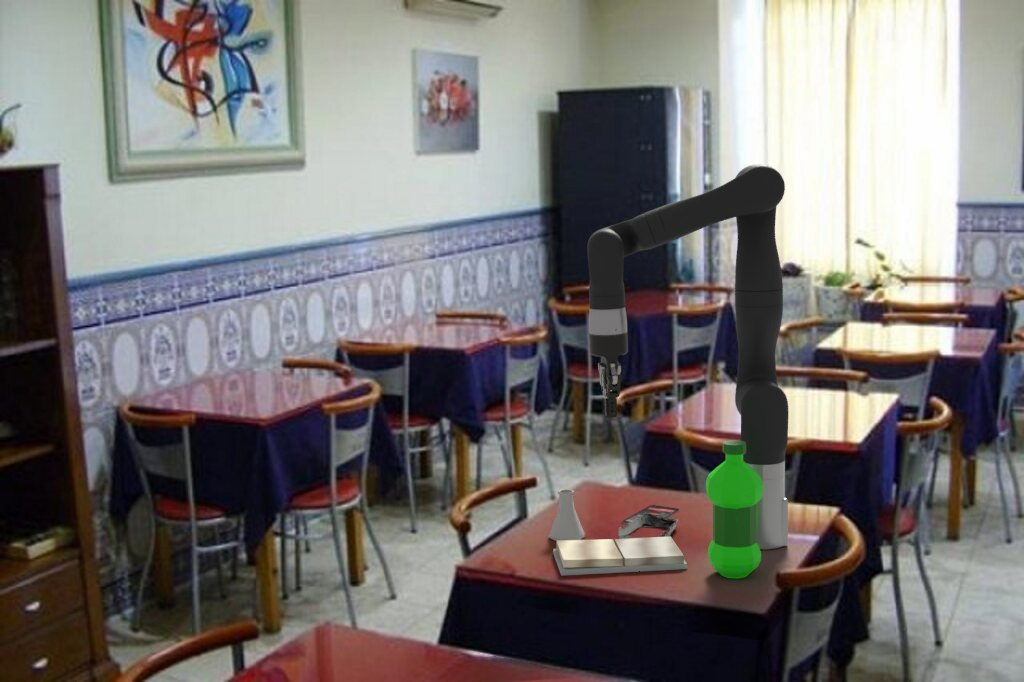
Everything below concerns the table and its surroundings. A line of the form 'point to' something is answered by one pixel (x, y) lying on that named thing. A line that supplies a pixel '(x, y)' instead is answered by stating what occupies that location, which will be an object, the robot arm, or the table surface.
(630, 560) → the laid plank
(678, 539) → the table surface
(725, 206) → the robot arm
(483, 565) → the table surface
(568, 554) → the cream wavy square sheet
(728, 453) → the plastic bottle
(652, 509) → the smartphone
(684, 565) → the underlay board
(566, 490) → the flask
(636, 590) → the table surface
